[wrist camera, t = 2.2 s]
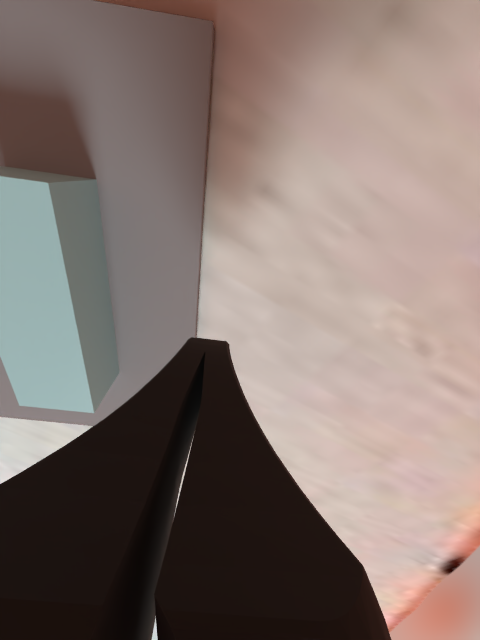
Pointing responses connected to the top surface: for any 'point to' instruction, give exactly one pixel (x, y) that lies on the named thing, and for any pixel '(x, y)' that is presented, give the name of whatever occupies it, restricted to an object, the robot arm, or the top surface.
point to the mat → (117, 160)
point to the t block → (54, 291)
